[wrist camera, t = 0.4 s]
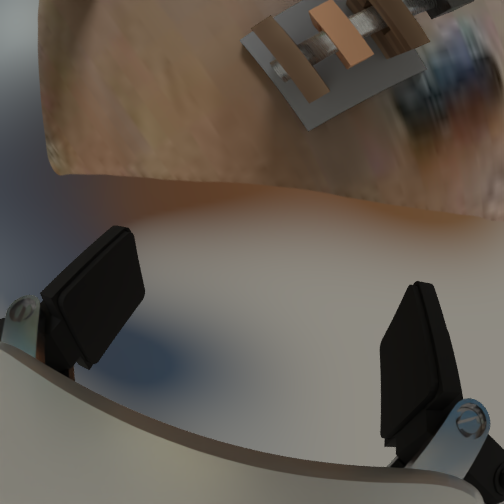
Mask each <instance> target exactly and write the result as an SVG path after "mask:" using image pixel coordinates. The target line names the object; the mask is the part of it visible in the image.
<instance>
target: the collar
mask: <svg viewBox="0 0 504 504" xmlns="http://www.w3.org/2000/svg"><path fill="white" fill-rule="evenodd" d="M308 12H309V15H310V18H311V21H312V24H313V25H314V27H315V28H316V29H317V30H318V32H321V31H324V32H325V33H326V35H327V36H328V37H329V39H330V40H331V41H332V42H333V44H334V45H335V46H336V48H337V49H338V50H339V51H338V52H336V53H335V54H336V55H337V56H338V58H339V59H340V61H341V62H342V63H343V65H344V66H345V68H346V69H349V68H351V67H353V66H355V65H357V64H359V63H360V62H362V61H364V60H366V59H368V58H369V57H371V56H372V55H374V53H373V51H372V50H371V48H370V47H369V46H368V44H367V43H366V41H365V40H364V39H363V37H362V36H361V34H360V33H359V32H358V30H357V29H356V28H355V27H354V25H353V24H352V23H351V21H350V20H349V19H348V18H347V16H346V15H345V14H344V13H343V11H342V10H341V9H340V8H339V7H338V6H337V4H336V3H335V2H334V1H333V0H328V1H326V2H324V3H322V4H320V5H319V6H317V7H315V8H313V9H311V10H309V11H308Z"/></svg>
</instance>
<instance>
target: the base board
mask: <svg viewBox="0 0 504 504" xmlns="http://www.w3.org/2000/svg"><path fill="white" fill-rule="evenodd" d="M326 1H328V0H302V1H301V2H299V3H297V4H295V5H293V6H292V7H290V8H288V9H287V10H285V11H283V12H282V13H280V14H278V15H277V16H275V17H274V19H275V20H276V22H277V23H278V24H279V25H280V26H281V27H282V28H283V29H284V30H285V31H286V33H287V34H288V35H289V36H290V37H291V38H292V40H293V41H294V42H295V43H296V45H298V44H300V43H302V42H303V41H305V40H307V39H309V38H310V37H312V36H314V35H316V34H317V33H319V32H318V30H317V29H316V28H315V27H314V25H313V24H312V21H311V18H310V15H309V12H308V11H309V10H311V9H313V8H315V7H317V6H319V5H320V4H322V3H324V2H326ZM333 1H334V2H335V3H336V4H337V6H338V7H339V8H340V9H341V10H342V11H343V13H344V14H345V15H346V16H347V17H349V16H351V15H354V14H353V13H352V11H351V10H350V9H349V8H348V6H347V5H346V1H347V0H333ZM363 39H364V40H365V41H366V43H367V44H368V46H369V47H370V48H371V50H372V51H373V53H374V55H372V56H371V57H369V58H368V59H366V60H364V61H362V62H360V63H359V64H357V65H355V66H353V67H351V68H349V69H346V68H345V66H344V65H343V63H342V62H341V61H340V59H339V58H338V56H337V55H336V54H335V53H334V54H332V55H331V56H329V57H327V58H325V59H324V60H322V61H320V62H318V63H317V64H315V65H313V67H314V68H315V69H316V71H317V72H318V74H319V75H320V76H321V78H322V79H323V81H324V82H325V83H326V85H327V86H328V88H329V89H330V92H329V93H327V94H325V95H323V96H322V97H320V98H318V99H316V100H315V101H313V102H311V103H310V104H309V103H308V101H307V100H306V98H305V97H304V96H303V94H302V93H301V91H300V90H299V89H298V87H297V86H296V85H295V83H294V82H293V80H292V79H290V80H288V81H287V82H284V81H283V80H282V79H281V78H280V77H279V76H278V75H277V73H276V72H275V71H274V69H273V68H272V67H271V65H270V62H271V61H273V60H274V59H276V58H275V57H274V56H273V55H272V53H271V52H270V51H269V50H268V48H267V47H266V46H265V45H264V44H263V42H262V41H261V40H260V39H259V38H258V36H257V35H256V34H255V33H254V32H253V31H252V32H251V33H249V34H248V35H247V36H245V37H244V38H242V39H241V40H240V41H241V43H242V44H243V45H244V46H245V47H246V49H247V50H248V51H249V52H250V53H251V55H252V56H253V57H254V58H255V60H256V61H257V62H258V63H259V65H260V66H261V67H262V68H263V70H264V71H265V72H266V73H267V75H268V76H269V77H270V79H271V80H272V81H273V83H274V84H275V85H276V87H277V88H278V89H279V91H280V92H281V93H282V95H283V96H284V97H285V99H286V100H287V101H288V103H289V104H290V106H291V107H292V108H293V110H294V111H295V113H296V114H297V116H298V117H299V118H300V120H301V121H302V123H303V124H304V126H305V127H306V129H307V130H308V131H310V130H312V129H313V128H315V127H317V126H319V125H320V124H322V123H324V122H326V121H327V120H329V119H331V118H333V117H334V116H336V115H338V114H340V113H342V112H343V111H345V110H347V109H349V108H351V107H353V106H354V105H356V104H358V103H360V102H362V101H364V100H366V99H368V98H369V97H371V96H373V95H375V94H377V93H379V92H381V91H383V90H385V89H387V88H389V87H391V86H393V85H395V84H397V83H399V82H401V81H403V80H405V79H407V78H409V77H411V76H413V75H415V74H418V73H420V72H422V71H424V70H426V69H427V68H426V67H425V65H424V63H423V62H422V60H421V58H420V57H419V55H418V53H417V52H416V50H415V49H413V50H410V51H407V52H405V53H402V54H399V55H397V56H394V57H392V58H389V59H386V58H385V56H384V55H383V53H382V52H381V50H380V49H379V47H378V46H377V44H376V43H375V42H374V40H373V39H372V37H371V36H370V35H369V36H367V37H365V38H363Z"/></svg>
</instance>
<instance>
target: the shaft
mask: <svg viewBox="0 0 504 504" xmlns="http://www.w3.org/2000/svg"><path fill="white" fill-rule="evenodd" d="M402 1H403V3H404V4H405V5H406V7H407V8H408V9H409V11H410V12H411V14H412V15H413V16H414V15H416V14H419V13H421V12H424V11H426V12H427V13H428V14H429V16H430V17H431V19H433V18H436V17H438V16H441V15H444V14H447V13H449V12H452V11H454V10H456V9H458V8H460V7H462V6H464V5H467V4H469V3H471V2H473V1H474V0H402ZM347 18H348V19H349V20H350V21H351V23H352V24H353V25H354V27H355V28H356V29H357V30H358V32H359V33H360V34H361V36H362V37H363V38H365V37H367V36H369V35H371V34H373V33H375V32H377V31H380V30H382V29H384V28H386V27H388V25H387V24H386V22H385V21H384V20H383V18H382V17H381V16H380V14H379V13H378V12H377V10H376V9H375V8H374V7H373V6H371V7H368V8H366V9H364V10H362V11H360V12H358V13H356V14H354V15H351V16H349V17H347ZM297 47H298V48H299V49H300V51H301V52H302V53H303V55H304V56H305V57H306V58H307V60H308V61H309V62H310V64H311V65H312V66H313V65H315V64H317V63H318V62H320V61H322V60H324V59H325V58H327V57H329V56H331V55H332V54H334V53H336V52H338V51H339V50H338V49H337V48H336V46H335V45H334V44H333V42H332V41H331V40H330V39H329V37H328V36H327V35H326V33H325V32H324V31H321V32H319V33H317V34H316V35H314V36H312V37H310V38H309V39H307V40H305V41H303V42H302V43H300V44H298V45H297ZM270 65H271V67H272V68H273V69H274V71H275V72H276V73H277V75H278V76H279V77H280V78H281V79H282V80H283V81H284V82H287V81H288V80H290V79H291V78H290V76H289V75H288V74H287V72H286V71H285V70H284V69H283V67H282V66H281V65H280V63H279V62H278V61H277V60H276V59H274V60H273V61H271V62H270Z"/></svg>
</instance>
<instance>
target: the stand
mask: <svg viewBox="0 0 504 504" xmlns="http://www.w3.org/2000/svg"><path fill="white" fill-rule="evenodd" d="M346 5H347V6H348V8H349V9H350V10H351V11H352V13H353V14H356V13H358V12H360V11H362V10H364V9H366V8H368V7H371V6H373V7H374V8H375V9H376V10H377V12H378V13H379V14H380V16H381V17H382V18H383V20H384V21H385V22H386V24H387V25H388V27H386V28H384V29H382V30H380V31H377V32H375V33H373V34H371V35H370V36H371V37H372V39H373V40H374V42H375V43H376V44H377V46H378V47H379V49H380V50H381V52H382V53H383V55H384V56H385V58H386V59H389V58H392V57H394V56H397V55H399V54H402V53H405V52H407V51H410V50H413V49H415V48H417V47H419V46H422V45H424V44H426V43H429V42H430V40H429V39H428V37H427V36H426V34H425V32H424V31H423V29H422V28H421V26H420V25H419V24H418V22H417V21H416V19H415V18H414V16H413V15H412V14H411V12H410V11H409V9H408V8H407V7H406V5H405V4H404V3H403V1H402V0H347V1H346ZM251 29H252V31H253V32H254V33H255V34H256V35H257V36H258V38H259V39H260V40H261V41H262V42H263V44H264V45H265V46H266V47H267V48H268V50H269V51H270V52H271V53H272V55H273V56H274V57H275V58H276V60H277V61H278V62H279V63H280V65H281V66H282V67H283V69H284V70H285V71H286V72H287V74H288V75H289V76H290V78H291V79H292V80H293V82H294V83H295V85H296V86H297V87H298V89H299V90H300V91H301V93H302V94H303V96H304V97H305V98H306V100H307V101H308V103H309V104H310V103H311V102H313V101H315V100H316V99H318V98H320V97H322V96H323V95H325V94H327V93H329V92H330V89H329V88H328V86H327V85H326V83H325V82H324V81H323V79H322V78H321V76H320V75H319V74H318V72H317V71H316V69H315V68H314V67H313V66H312V65H311V64H310V62H309V61H308V60H307V58H306V57H305V56H304V55H303V53H302V52H301V51H300V49H299V48H298V47H297V45H296V43H295V42H294V41H293V40H292V38H291V37H290V36H289V35H288V34H287V33H286V31H285V30H284V29H283V28H282V27H281V26H280V25H279V24H278V23H277V22H276V20H275V19H274V18H273V17H272V16H271V15H270V16H269V17H267V18H266V19H264V20H263V21H261V22H260V23H258V24H257V25H255V26H254V27H252V28H251Z"/></svg>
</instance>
